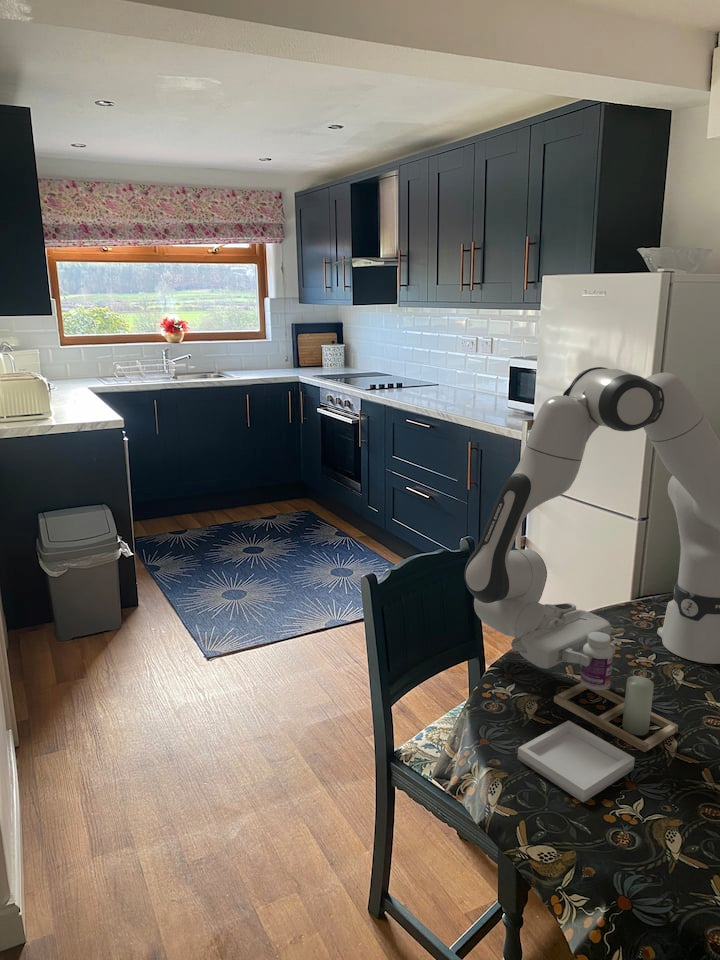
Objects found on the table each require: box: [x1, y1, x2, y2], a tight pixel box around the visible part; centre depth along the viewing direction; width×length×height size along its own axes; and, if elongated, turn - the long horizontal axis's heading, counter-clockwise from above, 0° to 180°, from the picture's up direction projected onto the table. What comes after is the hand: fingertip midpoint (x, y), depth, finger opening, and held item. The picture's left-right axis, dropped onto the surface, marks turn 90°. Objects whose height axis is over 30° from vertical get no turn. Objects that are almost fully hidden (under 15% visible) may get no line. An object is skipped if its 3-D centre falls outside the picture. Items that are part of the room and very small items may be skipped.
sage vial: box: [621, 675, 655, 736], centre depth 125 cm, size 4×4×9 cm
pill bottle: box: [579, 632, 614, 690], centre depth 131 cm, size 5×5×10 cm
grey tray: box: [517, 720, 636, 804], centre depth 116 cm, size 13×13×2 cm
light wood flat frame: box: [553, 682, 679, 753], centre depth 130 cm, size 10×19×1 cm, turn 36°
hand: (601, 656), depth 130 cm, fingers closed on pill bottle, 5 cm apart
